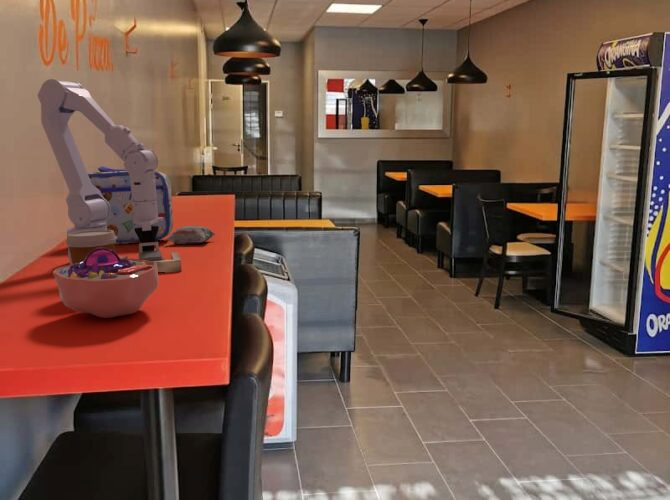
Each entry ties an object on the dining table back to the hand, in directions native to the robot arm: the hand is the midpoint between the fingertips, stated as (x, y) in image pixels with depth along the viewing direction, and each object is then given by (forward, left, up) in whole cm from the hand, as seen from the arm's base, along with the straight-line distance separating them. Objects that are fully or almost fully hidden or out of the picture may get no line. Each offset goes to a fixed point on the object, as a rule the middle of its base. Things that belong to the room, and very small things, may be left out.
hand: (148, 256), depth 171 cm
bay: (0, -9, -1) cm, 9 cm away
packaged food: (+12, +25, -2) cm, 28 cm away
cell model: (-8, -50, -2) cm, 51 cm away
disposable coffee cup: (-11, -31, -2) cm, 33 cm away
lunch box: (-5, +37, -2) cm, 37 cm away
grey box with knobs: (0, -9, -1) cm, 9 cm away
